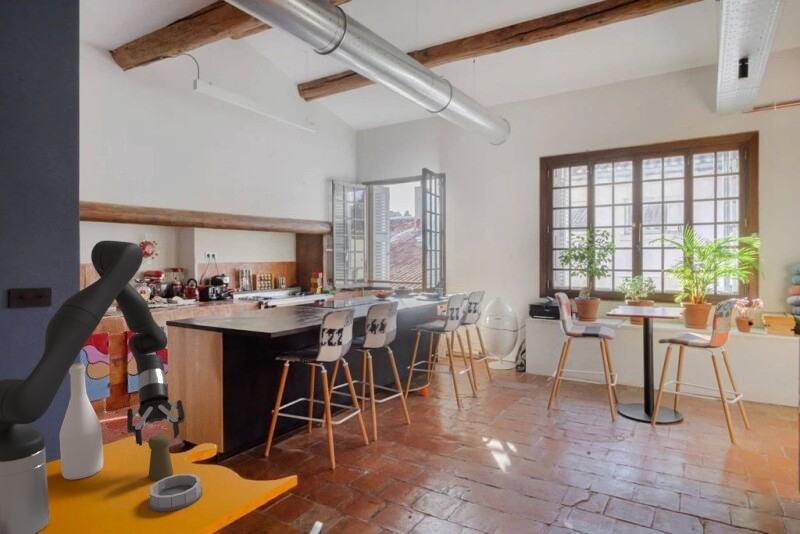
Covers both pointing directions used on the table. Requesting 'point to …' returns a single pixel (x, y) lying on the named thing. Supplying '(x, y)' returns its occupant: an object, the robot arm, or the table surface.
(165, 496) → the small gray bowl
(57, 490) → the table surface
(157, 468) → the cork
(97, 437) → the wine bottle
